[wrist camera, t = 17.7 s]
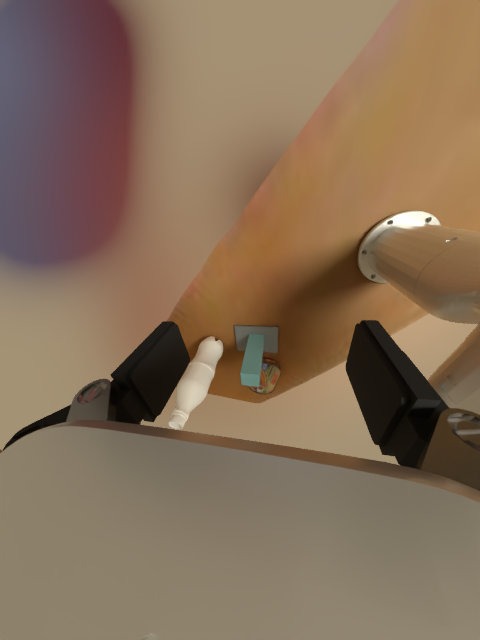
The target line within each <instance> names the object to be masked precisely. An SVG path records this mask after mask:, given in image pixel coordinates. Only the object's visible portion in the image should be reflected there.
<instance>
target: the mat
mask: <svg viewBox="0 0 480 640" xmlns="http://www.w3.org/2000/svg"><path fill="white" fill-rule="evenodd" d="M234 329H235V336H236V344H237V351H246V346H247V342H248V338H249V334H260V335H264V349H263V352H267V353H278V326H245V325H235V326H234Z"/></svg>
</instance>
